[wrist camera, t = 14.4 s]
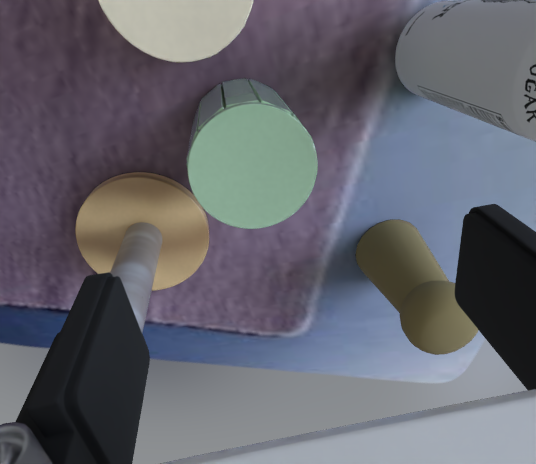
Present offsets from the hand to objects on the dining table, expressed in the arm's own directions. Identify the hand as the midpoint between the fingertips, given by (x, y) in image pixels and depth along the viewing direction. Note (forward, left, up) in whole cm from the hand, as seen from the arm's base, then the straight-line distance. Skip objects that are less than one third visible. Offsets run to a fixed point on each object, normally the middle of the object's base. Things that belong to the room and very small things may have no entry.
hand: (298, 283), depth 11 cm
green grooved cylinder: (+1, 0, -21) cm, 21 cm away
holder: (+8, -9, -21) cm, 24 cm away
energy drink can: (-2, +14, -21) cm, 25 cm away
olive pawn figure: (+14, +11, -21) cm, 27 cm away
